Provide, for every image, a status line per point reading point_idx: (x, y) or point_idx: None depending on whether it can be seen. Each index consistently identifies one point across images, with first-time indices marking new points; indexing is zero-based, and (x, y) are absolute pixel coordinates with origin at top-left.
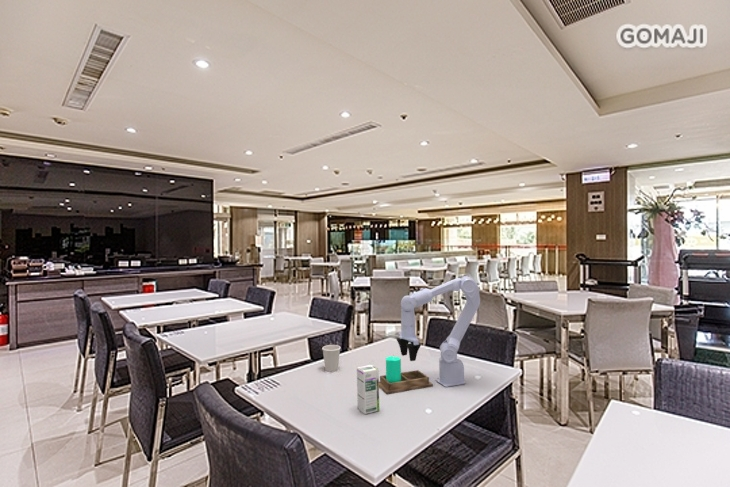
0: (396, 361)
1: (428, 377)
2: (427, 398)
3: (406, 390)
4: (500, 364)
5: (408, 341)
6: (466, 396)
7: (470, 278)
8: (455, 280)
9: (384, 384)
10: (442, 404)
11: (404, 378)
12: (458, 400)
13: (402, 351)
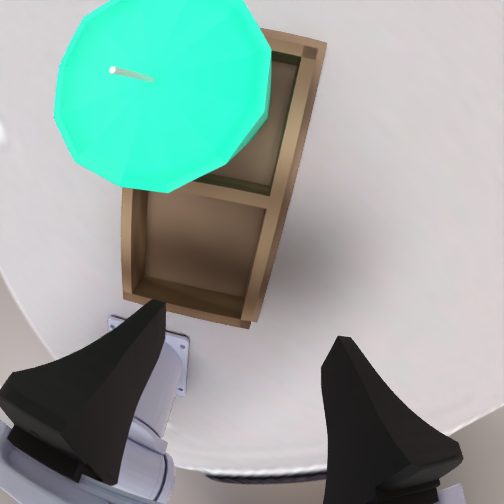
0: (62, 81)
1: (124, 298)
2: (49, 183)
3: None
4: (210, 473)
5: (328, 488)
6: (41, 305)
7: None
8: None
9: None
10: (9, 201)
11: None
12: (22, 266)
13: (345, 368)
